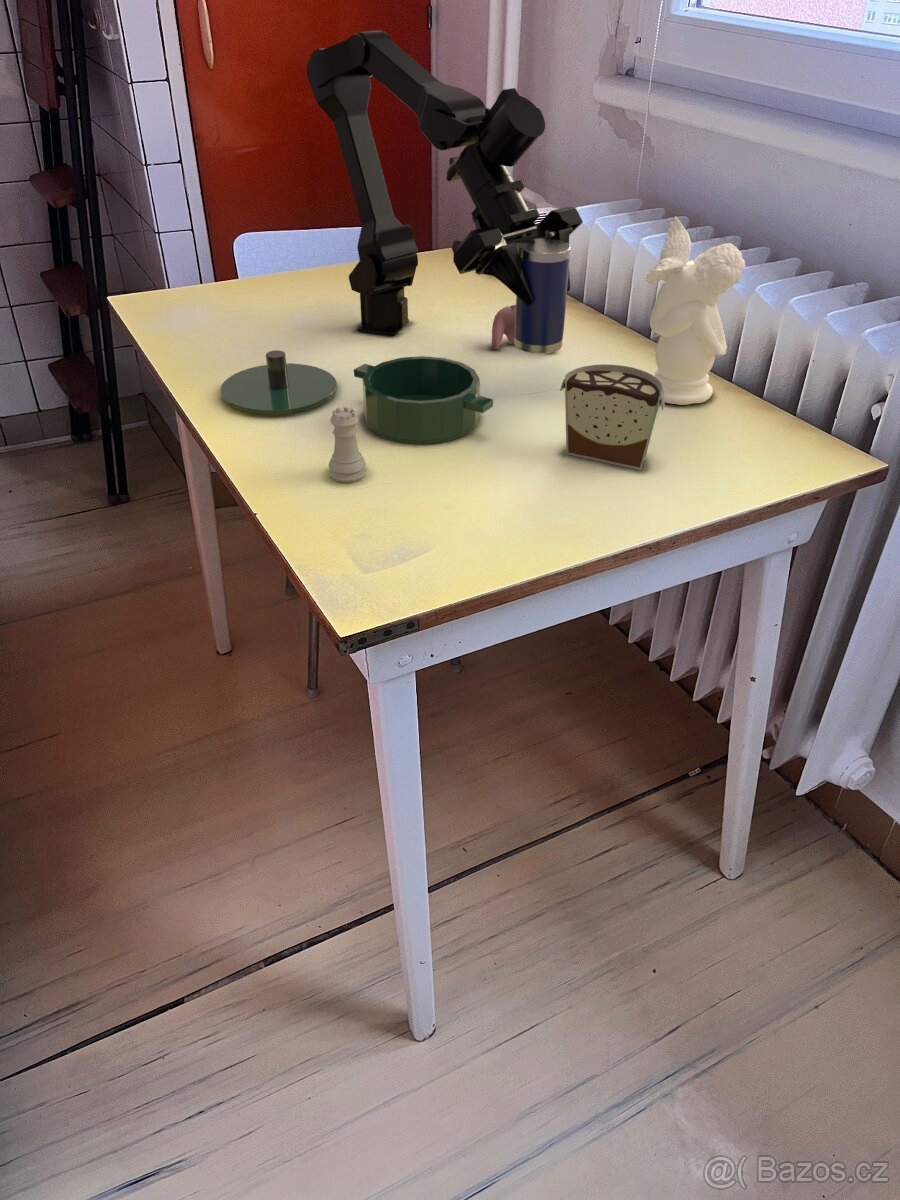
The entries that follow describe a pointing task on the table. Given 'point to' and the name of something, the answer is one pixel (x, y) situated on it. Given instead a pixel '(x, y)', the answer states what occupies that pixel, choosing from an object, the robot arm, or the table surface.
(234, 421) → the table surface
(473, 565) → the table surface
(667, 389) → the cherub figurine
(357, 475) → the rook chess piece
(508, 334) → the video game controller
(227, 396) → the pot lid
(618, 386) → the food container
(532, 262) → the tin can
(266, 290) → the table surface
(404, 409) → the pot
